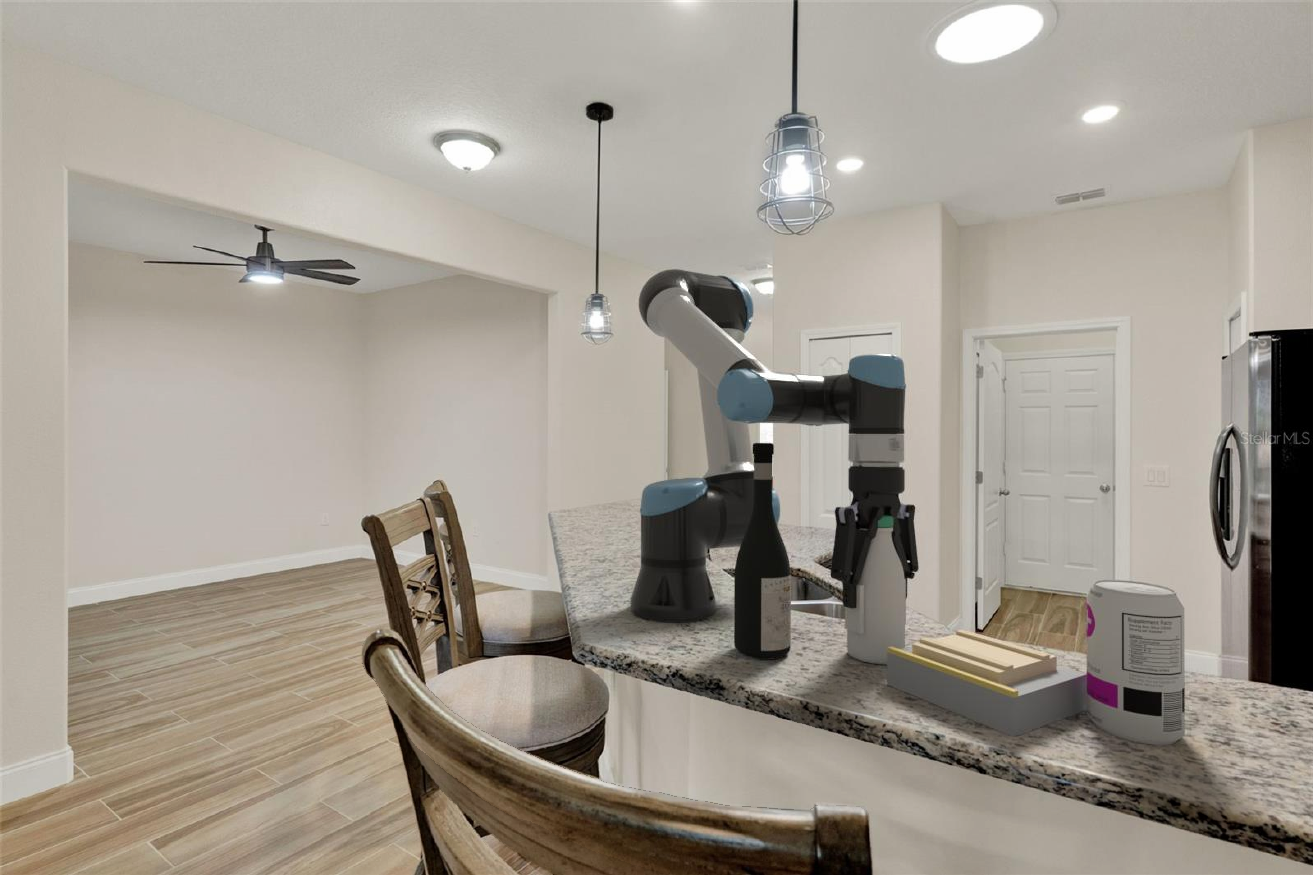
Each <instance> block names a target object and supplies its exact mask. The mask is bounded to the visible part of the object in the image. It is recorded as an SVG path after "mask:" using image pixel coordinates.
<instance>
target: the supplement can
mask: <svg viewBox="0 0 1313 875" xmlns="http://www.w3.org/2000/svg"><path fill="white" fill-rule="evenodd" d="M1092 582H1093V584H1092V586H1091V587H1090V588H1089V591H1088V592H1087V594H1086V674H1087V710H1086V715H1087V717H1088V718H1089V719H1090V720H1091V721H1092V722H1093V724H1094V725H1095V726H1096V727H1097V728H1098V729H1100V730H1102V731H1103V732H1105V733H1107V734H1110V735H1113V736H1115V737H1117V738H1120V739H1124V740H1127V741H1132V742H1135V743H1139V744H1146V745H1152V746H1153V745H1156V746H1158V745H1159V746H1168V745H1171V744H1175V743H1176V741H1178V740H1181V739H1182V738H1183V737H1185V734H1186V732H1185V731H1186V730H1185V728H1186V727H1185V726H1186V724H1185V722H1186V720H1185V719H1186V715H1185V714H1186V713H1185V712H1186V711H1185V710H1186V708H1185V707H1186V705H1185V704H1186V703H1185V702H1186V701H1185V700H1186V699H1185V698H1186V696H1185V695H1186V694H1185V692H1186V691H1185V684H1186V683H1185V682H1186V681H1185V679H1186V678H1185V670H1186V669H1185V607H1184V606H1183V603H1182V602H1181V601H1180V599H1179V597H1178V596H1177V591H1176V590H1175V589H1173V588H1170V587H1168V586H1164V585H1159V584H1154V583H1149V582H1143V581H1135V580H1125V579H1124V580H1122V579H1099V580H1094V581H1092Z"/></svg>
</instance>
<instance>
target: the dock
mask: <svg viewBox="0 0 1313 875" xmlns="http://www.w3.org/2000/svg"><path fill="white" fill-rule="evenodd" d="M886 685H888V686H890V687H893V688H895V689H898V690H900V691H902V692H905V693H907V694H909V695H912V696H914V697H917V698H919V699H921V700H923V701H926V702H929V703H930V704H933V705H936V706H938V707H941V708H943V709H946V710H947V711H950V712H953V713H955V714H957V715H959V716H962V717H965V718H967V719H969V720H971V719H972V720H971V721H974V720H975V721H974V722H976V721H977V723H978V724H981V723H982V725H983V724H984V726H986V727H989V728H991V729H993V730H996V731H998V732H1000V733H1003V734H1006V735H1008V736H1009V737H1013V738H1014V737H1017V736H1020V735H1023V734H1026V733H1028V732H1030V731H1034V730H1037V729H1039V728H1043V727H1045V726H1047V725H1050V724H1053V723H1055V722H1058V721H1061V720H1063V719H1066V718H1068V717H1071V716H1074V715H1077V714H1080V713H1082V712H1084V711H1087V673H1085V672H1083V671H1082V672H1081V671H1078V670H1074V669H1071V668H1067V667H1064V666H1061V665H1058V658H1057V655H1053V654H1049V653H1046V652H1042V651H1040V650H1035V649H1032V648H1029V647H1025V646H1023V645H1019V644H1015V643H1011V642H1007V641H1004V640H1000V639H996V638H995V637H990V636H986V635H983V634H979V633H977V632H973V631H967V630H966V629H965V630H964V629H959V630H956V631H955V634H950V635H947V636H942V637H937V638H933V639H932V638H929V637H922V638H919V641H918V642H915V643H912V644H911V646H909V647H905V648H903V649H898V648H895V647H892V646H891V647H887V664H886Z"/></svg>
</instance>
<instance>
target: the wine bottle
mask: <svg viewBox="0 0 1313 875" xmlns="http://www.w3.org/2000/svg"><path fill="white" fill-rule="evenodd" d="M774 448H775V444H774V443H772V442H754V443H753V444H752V458H753V464H754V504H753V511H752V516H751V519H750V522H749V525H748V528H747V531H746V533H745V536H744V538H743V541H742V543H741V546H739V549H738V552H737V555H736V561H735V568H734V583H733V584H734V586H733V587H734V595H733V596H734V597H733V598H734V600H733V602H734V605H733V606H734V608H733V609H734V610H733V611H734V614H733V616H734V618H733V620H734V621H733V623H734V624H733V630H734V631H733V632H734V633H733V637H734V638H733V639H734V641H733V643H734V647H735V649H736V650H737V651H738V653H739V654H741V655H743V656H746V657H749V658H752V659H758V660H772V659H773V660H775V659H779V658H782V657H784V656H786V655H787V654H788V653H789V652H791V644H792V643H791V642H792V640H791V639H792V635H791V633H792V628H791V627H792V626H791V624H792V620H791V619H792V617H791V614H792V609H791V608H792V602H791V601H792V572H791V571H792V570H791V566H790V565H791V564H790V560H789V556H788V552H787V548H786V545H785V543H784V539H783V538H782V535H781V532H780V530H779V527H778V525H777V524H776V521H775V517H774V513H773V506H772V487H773V461H774V460H773V458H774V455H775V453H774V452H775V449H774Z"/></svg>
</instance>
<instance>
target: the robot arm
mask: <svg viewBox="0 0 1313 875" xmlns="http://www.w3.org/2000/svg"><path fill="white" fill-rule="evenodd" d="M638 310H639V314H640V317H641V319H642V321H643V322H644V324H645V325H646V326H647V327H648V328H649V330H651V332H653V333H654V334H655V335H656V336H659V337H662V338H667V340H668V341H669V342H670V343H671V344H672V345H673V346H674V347H675V348H676V350H678V351H679V352H680V353H681V354H682V355H683V356H684V357H685V358H686V359H687V360H688V361H689V362H690V364H692V365H693V366H694V367H695V368H696V370H697V378H698V388H699V395H700V403H701V404H700V405H701V406H700V407H701V413H702V423H703V431H704V432H703V433H704V441H705V448H706V449H705V450H706V458H707V459H706V460H707V466H708V469H707V471H706V472H705V474H703V476H702V477H683V478H682V477H681V478H671V479H665V480H659V481H656V482H652V483H649V484H648V485H646V486H645V487H644V489H643V490H642V493H641V501H640V502H641V503H640V509H639V512H640V567H639V572H638V575H637V577H636V581H635V584H634V586H633V590H632V593H631V596H630V612H631V614H632V615H634V616H636V617H639V618H642V619H644V620H650V621H656V622H663V623H664V622H667V623H685V622H693V621H702V620H705V619H708V618H711V617H713V616H714V615H715V614H716V605H717V604H716V600H717V599H716V597H715V593H714V590H713V587H712V584H711V580H710V577H709V574H708V570H707V549H708V550H709V549H710V550H713V549H726V548H735V547H740V546H741V543H742V541H743V538H744V536H745V533H746V531H747V528H748V525H749V522H750V519H751V516H752V511H753V504H754V458H753V450H752V444H751V437H750V429H749V424H757V423H758V424H789V425H790V424H791V425H795V424H796V425H797V424H798V425H805V426H811V427H813V426H816V427H819V426H823V425H824V426H826V425H828V426H829V425H841V424H842V425H843V424H845V425H846V424H847V425H848V445H847V446H848V455H847V460H848V461H849V462H850V463H852V466H851V465H850V466H849V468H848V472H847V474H848V475H847V476H848V482H847V483H848V484H847V485H848V490H849V492H851V493H852V500H851V502H850V505H849V506H845V507H844V506H837V507H835V509H834V516H835V533H834V542H833V551H832V559H831V566H830V577H831V579H834V580H837V581H838V582H841V583H842V605H843V607H844V629H845V630H847V629H848V630H850V631H853V632H856V633H859V634H861V633H864V585H861V584H859V581H860V578H861V575H862V571H863V568H864V564H865V561H866V557H867V554H868V550H869V547H870V543H871V540H872V539H873V538H875V536H876V533H877V530H878V520H880V519H881V518H882V517H883V515H889V516H892V517H893V531H892V533H891V536H892V541H893V545H894V548H895V550H896V552H897V555H898V557H899V559H900V561H901V564H902V567H903V571H904V580H905V626H906V624H907V621H906V620H907V618H906V617H907V615H906V614H907V610H906V608H907V607H906V606H907V603H906V602H907V598H908V579H909V580H913V579H914V578H915V575H916V574H915V573H917V572H919V560H918V558H919V557H918V549H917V540H916V529H915V514H916V507H915V505H914V504H909V503H902V501H901V500H900V494H903V492H905V485H906V484H905V479H906V478H905V476H906V475H905V474H906V473H905V472H906V469H904V467H903V466H900V463H904V462H905V430H906V429H905V403H906V388H907V384H906V378H905V376H906V375H905V364H904V360H903V359H902V358H901V357H900V356H899V355H895V354H888V353H887V354H886V353H878V354H877V353H876V354H875V353H874V354H872V353H871V354H862V355H857V356H854V357H852V358H850V359H849V362H848V369H847V373H844V374H843V373H842V374H831V375H814V374H802V373H800V374H799V373H791V372H790V373H789V372H778V371H772V370H770V369H769V368H768V367H767V366H766V365H765V364H763V363H762V362H760V361H759V360H758V359H757V358H756V357H755V356H753V355H752V354H751V353H750V352H749V351H748V350H746V349H745V348H744V347H743V346H742V345H741V344H742V343H743V341H744V340H745V337H746V336H745V335H746V333H747V331H748V330H749V329H750V327H751V325H752V323H753V322H752V318H753V317H754V300H753V297H752V295H751V293H750V290H749V289H748V288H747V286H746V285H745V284H744V283H742V282H741V281H740V280H737V279H734V278H731V277H728V276H725V275H712V274H708V273H707V274H706V273H701V272H695V271H688V270H684V269H678V268H677V269H676V268H675V269H672V268H671V269H665V270H663V271H660V272H657V273H655V274H654V275H652V276H651V277H650V278H649V279H648V280H647V281H646V282H645V283H644V285H643V286H642V288H641V291H640V293H639V297H638ZM780 502H781V501H780V498H779V495H778V493H777V492H776V491H775V489H774V487H773V486H772V506H773V513H774V517H775V521H776V524H777V526H778V525H779V521H780V518H781V517H780V516H781V503H780ZM860 527H861V528H862V529H868V530H861V529H860ZM887 528H891V527H887ZM851 572H852V575H851Z"/></svg>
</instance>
